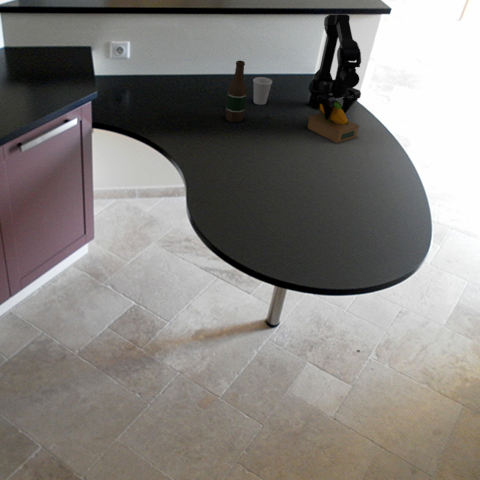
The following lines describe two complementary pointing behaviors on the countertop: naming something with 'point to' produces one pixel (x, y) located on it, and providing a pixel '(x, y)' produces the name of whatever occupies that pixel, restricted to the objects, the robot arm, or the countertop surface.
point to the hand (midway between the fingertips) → (334, 117)
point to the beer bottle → (236, 95)
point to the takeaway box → (332, 128)
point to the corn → (336, 114)
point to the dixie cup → (261, 90)
